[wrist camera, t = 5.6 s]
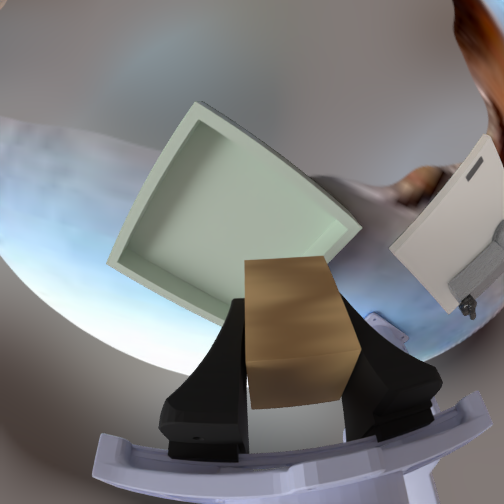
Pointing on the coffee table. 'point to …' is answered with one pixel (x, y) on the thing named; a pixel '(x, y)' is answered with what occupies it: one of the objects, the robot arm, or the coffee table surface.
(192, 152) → the tray
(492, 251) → the crank
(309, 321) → the block
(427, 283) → the board
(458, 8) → the coffee table surface
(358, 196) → the coffee table surface
